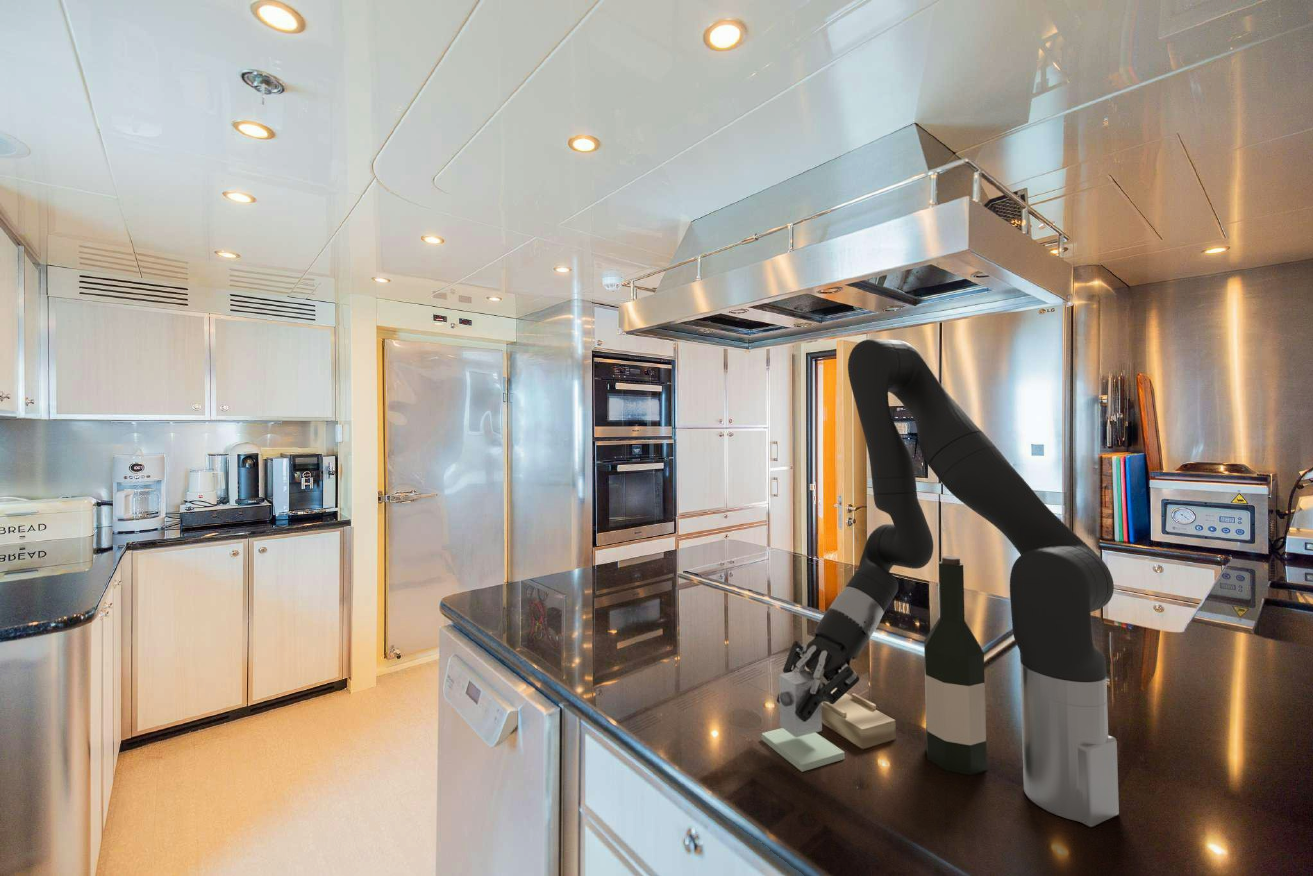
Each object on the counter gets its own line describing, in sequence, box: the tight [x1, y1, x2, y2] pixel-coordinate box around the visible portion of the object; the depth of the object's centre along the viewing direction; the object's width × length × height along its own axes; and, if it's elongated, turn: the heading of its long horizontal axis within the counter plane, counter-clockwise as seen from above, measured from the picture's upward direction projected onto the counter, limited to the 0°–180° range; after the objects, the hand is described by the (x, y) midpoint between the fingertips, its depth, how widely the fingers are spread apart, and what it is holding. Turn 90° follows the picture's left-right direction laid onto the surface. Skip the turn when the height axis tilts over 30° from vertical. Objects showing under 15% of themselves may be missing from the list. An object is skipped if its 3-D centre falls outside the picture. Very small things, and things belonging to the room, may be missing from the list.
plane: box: [822, 688, 897, 750], centre depth 95 cm, size 16×7×5 cm, turn 24°
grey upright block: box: [778, 669, 823, 737], centre depth 87 cm, size 4×6×8 cm
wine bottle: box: [923, 555, 988, 776], centre depth 84 cm, size 8×8×30 cm
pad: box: [761, 727, 846, 772], centre depth 87 cm, size 10×8×1 cm
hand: (790, 711), depth 86 cm, fingers closed on grey upright block, 4 cm apart
